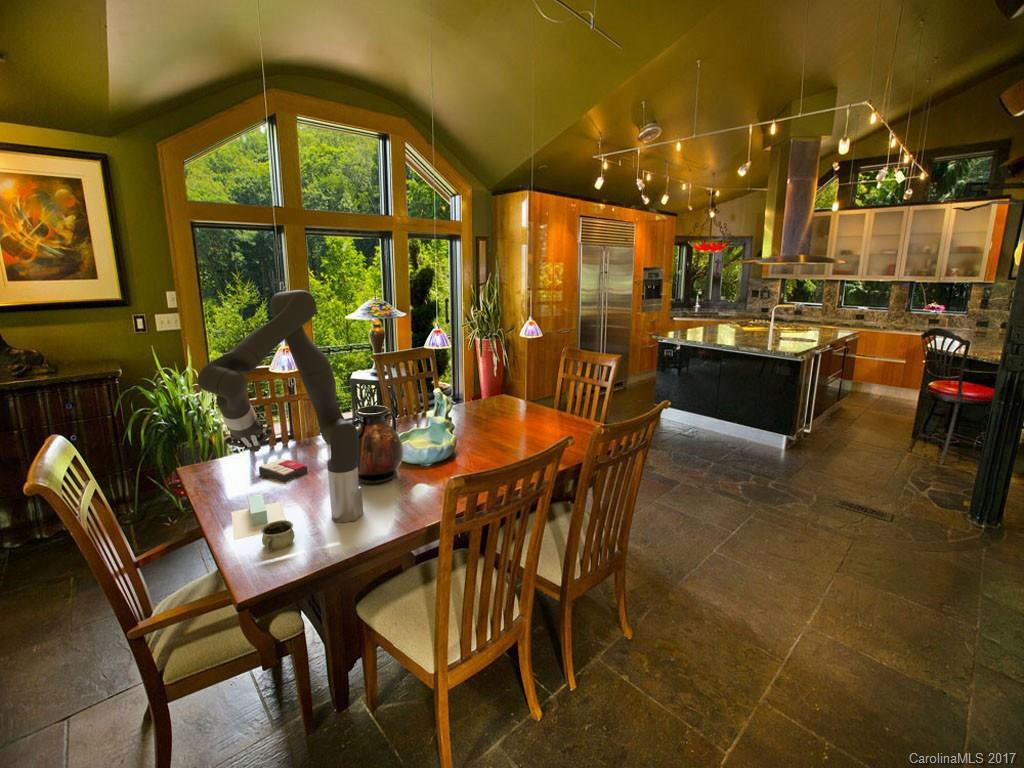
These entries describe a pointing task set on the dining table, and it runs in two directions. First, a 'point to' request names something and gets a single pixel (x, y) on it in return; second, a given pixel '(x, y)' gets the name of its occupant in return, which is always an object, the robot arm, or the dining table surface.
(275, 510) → the mat
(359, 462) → the amphora vase
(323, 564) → the dining table surface
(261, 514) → the block
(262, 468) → the calculator
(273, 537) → the vessel
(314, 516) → the dining table surface
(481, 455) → the dining table surface
